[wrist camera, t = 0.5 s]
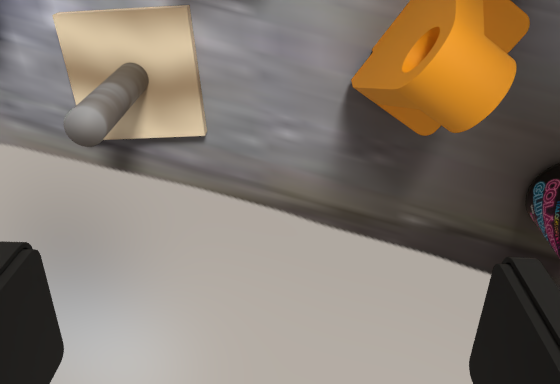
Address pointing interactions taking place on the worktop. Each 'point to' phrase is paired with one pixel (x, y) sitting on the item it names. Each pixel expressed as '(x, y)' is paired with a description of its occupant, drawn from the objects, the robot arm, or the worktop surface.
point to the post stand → (131, 74)
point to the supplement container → (546, 205)
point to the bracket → (444, 63)
